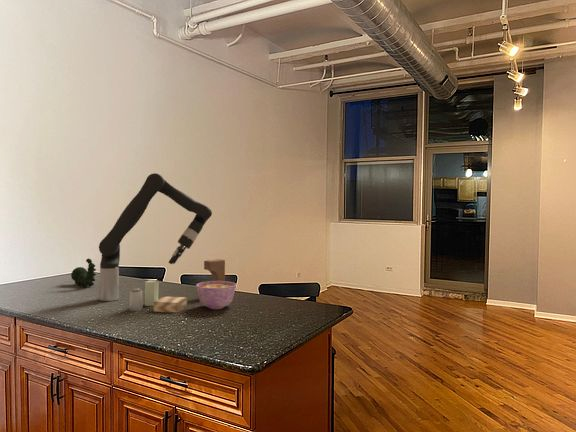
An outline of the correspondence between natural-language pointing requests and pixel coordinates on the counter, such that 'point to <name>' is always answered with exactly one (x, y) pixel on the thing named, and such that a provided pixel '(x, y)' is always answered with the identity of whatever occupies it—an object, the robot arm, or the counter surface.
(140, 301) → the ceramic jar
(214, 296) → the bowl of food
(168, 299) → the maple block
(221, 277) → the decorative block
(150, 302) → the sage block
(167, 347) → the counter surface
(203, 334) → the counter surface
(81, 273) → the toy figurine
